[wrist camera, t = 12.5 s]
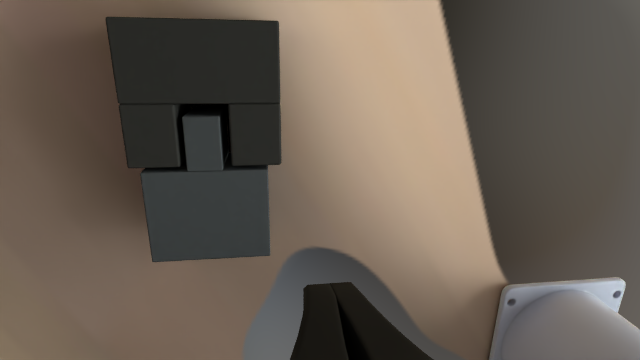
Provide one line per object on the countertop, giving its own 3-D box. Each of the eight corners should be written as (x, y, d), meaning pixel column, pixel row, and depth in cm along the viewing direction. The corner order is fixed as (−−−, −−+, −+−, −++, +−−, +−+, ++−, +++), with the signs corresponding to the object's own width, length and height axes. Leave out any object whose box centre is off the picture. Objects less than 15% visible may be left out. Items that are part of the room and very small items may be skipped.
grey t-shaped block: (269, 227, 20) (270, 256, 17) (168, 231, 19) (152, 262, 17) (265, 105, 18) (266, 116, 15) (153, 106, 17) (131, 117, 15)
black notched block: (278, 147, 19) (281, 165, 16) (148, 150, 18) (127, 168, 15) (276, 25, 17) (278, 20, 14) (132, 22, 16) (104, 16, 13)
